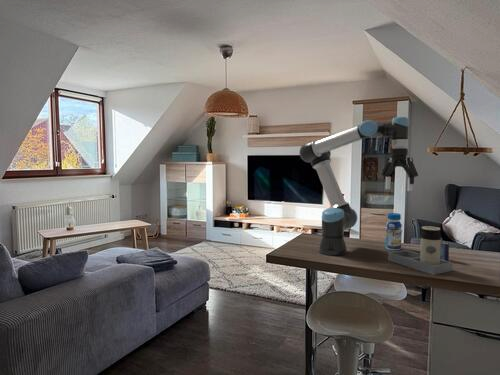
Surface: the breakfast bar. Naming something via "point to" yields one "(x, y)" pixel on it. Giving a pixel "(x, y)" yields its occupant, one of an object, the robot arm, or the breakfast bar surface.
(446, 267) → the grey divided tray
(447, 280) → the breakfast bar surface
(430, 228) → the travel mug
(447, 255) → the flask
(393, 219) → the beverage bottle
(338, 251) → the robot arm
